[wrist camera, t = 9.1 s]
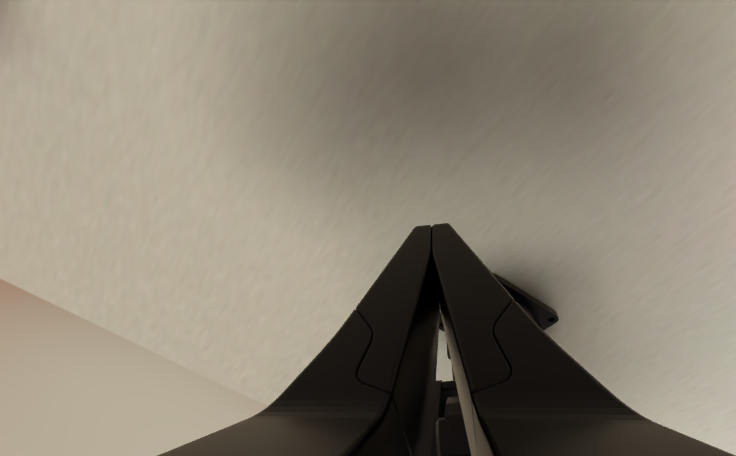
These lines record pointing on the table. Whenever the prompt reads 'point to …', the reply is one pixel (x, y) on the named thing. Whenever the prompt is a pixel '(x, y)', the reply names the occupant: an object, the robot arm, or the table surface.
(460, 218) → the table surface
